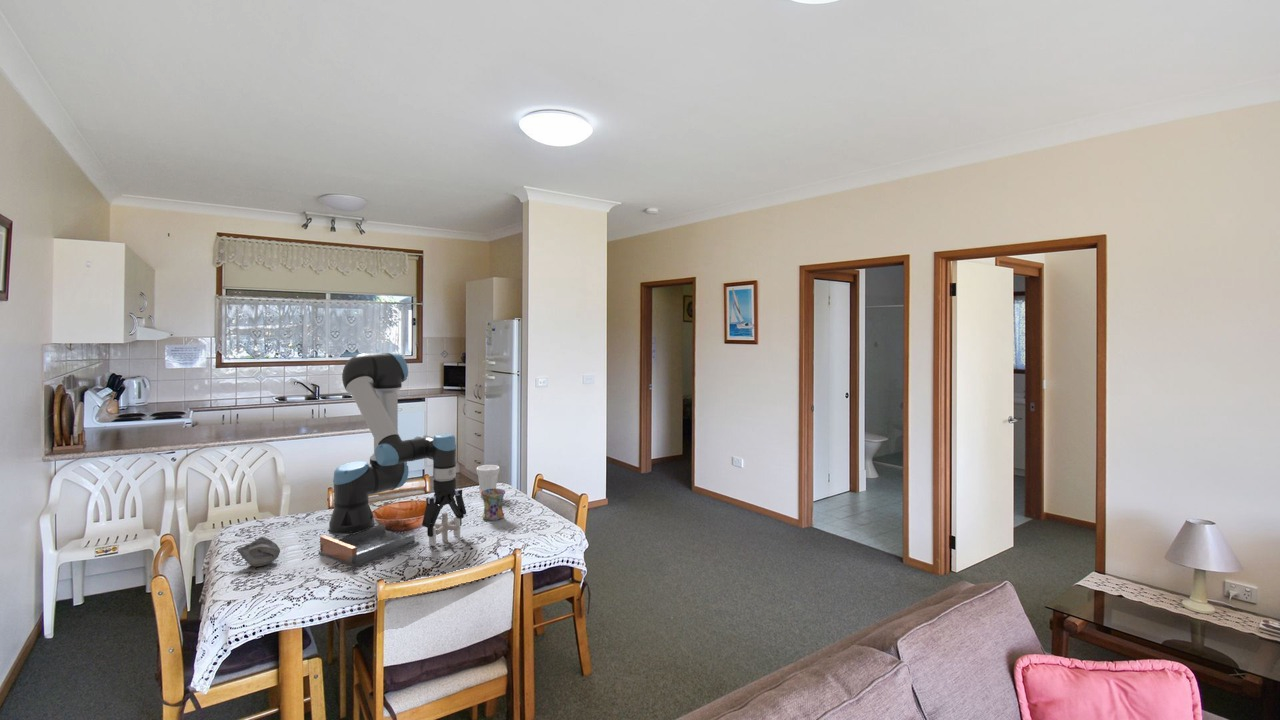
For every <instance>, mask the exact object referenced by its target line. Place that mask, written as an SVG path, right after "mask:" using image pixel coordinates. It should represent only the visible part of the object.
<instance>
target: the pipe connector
mask: <svg viewBox="0 0 1280 720" xmlns="http://www.w3.org/2000/svg"><path fill="white" fill-rule="evenodd" d="M448 514H449V513H448V512H446V511H445V512H441V520H442V521H441V523H438V522H437V523H436V522H435V525H434V527H436V536H437V535H440V534H441V537H442V538H441V541H442V542H443V543H444V542H445V543H446V542H448V540H449V539H448V538H449V536H448V535H449V534H448V531H453V532H454V531H458V530H459V526H458V525H454V519H450V520H449V519H448V518H449V517H448ZM448 520H449V521H448Z"/></svg>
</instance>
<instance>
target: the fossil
mask: <svg viewBox="0 0 1280 720" xmlns="http://www.w3.org/2000/svg"><path fill="white" fill-rule="evenodd" d="M237 552H238V553H239V554H240V556H241V558H242V559H244V560H245V562H246V563H247V564H248V565H250V566H252V567H262V566H263V567H264V566H267V565H269V564H272V563H273V562H275V561H276V560H277V559H278V558H279V556H280V554H281V553H280V552H281V549H280V547H279V545H278V544H277V543H276V542H275V541H272V540H271V539H270V538H268V537H266V536H259V537H258V538H256V539H255V540H253V541H251V542H250V543H249V544H246V545H244V546H241V547H238V548H237Z"/></svg>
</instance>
